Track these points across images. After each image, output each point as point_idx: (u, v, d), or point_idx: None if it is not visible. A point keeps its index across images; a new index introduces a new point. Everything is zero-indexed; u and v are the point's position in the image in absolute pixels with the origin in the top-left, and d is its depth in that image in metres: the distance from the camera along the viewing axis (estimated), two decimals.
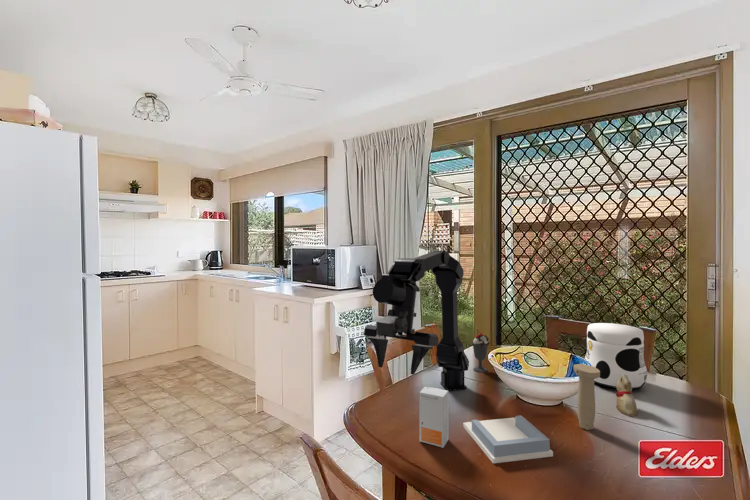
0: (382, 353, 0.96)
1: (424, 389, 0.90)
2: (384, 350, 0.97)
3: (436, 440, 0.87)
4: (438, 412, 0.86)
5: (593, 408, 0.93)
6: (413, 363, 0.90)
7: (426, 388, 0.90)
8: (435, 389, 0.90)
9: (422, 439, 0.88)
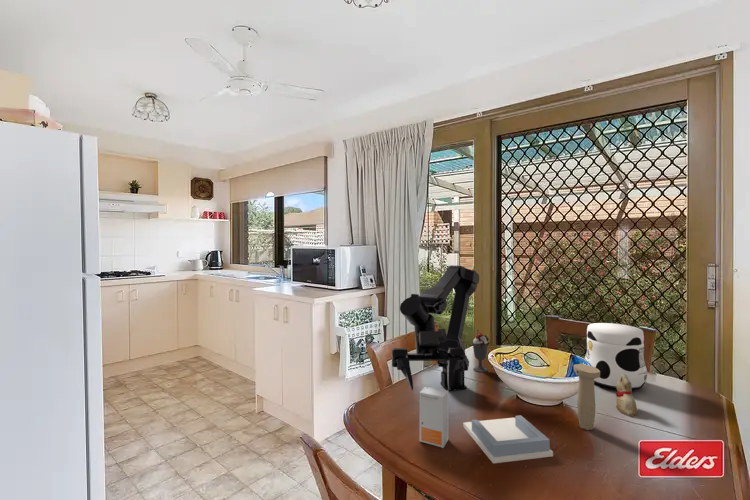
0: None
1: (424, 389, 0.90)
2: None
3: (436, 440, 0.87)
4: (438, 412, 0.86)
5: (593, 408, 0.93)
6: (450, 377, 0.94)
7: (426, 388, 0.90)
8: (435, 389, 0.90)
9: (422, 439, 0.88)
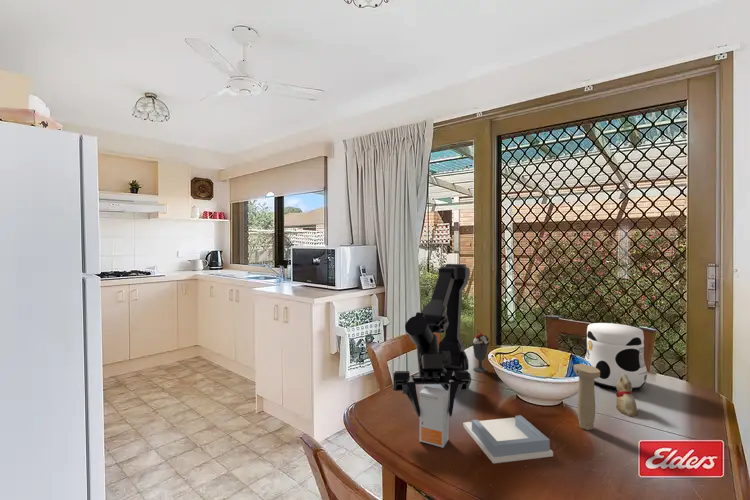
0: None
1: (424, 389, 0.90)
2: None
3: (436, 440, 0.87)
4: (438, 412, 0.86)
5: (593, 408, 0.93)
6: (451, 402, 0.89)
7: (426, 388, 0.90)
8: (435, 389, 0.90)
9: (422, 439, 0.88)
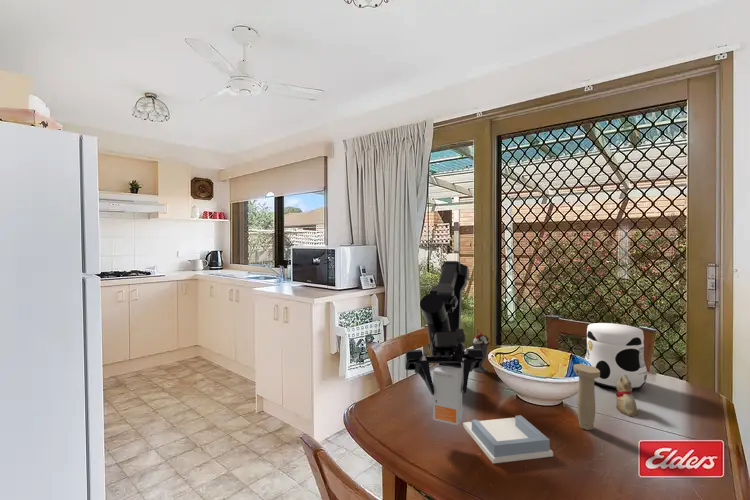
0: None
1: (437, 367, 0.89)
2: None
3: (450, 418, 0.86)
4: (452, 390, 0.85)
5: (593, 408, 0.93)
6: (465, 380, 0.88)
7: (439, 366, 0.89)
8: (448, 367, 0.89)
9: (436, 417, 0.87)
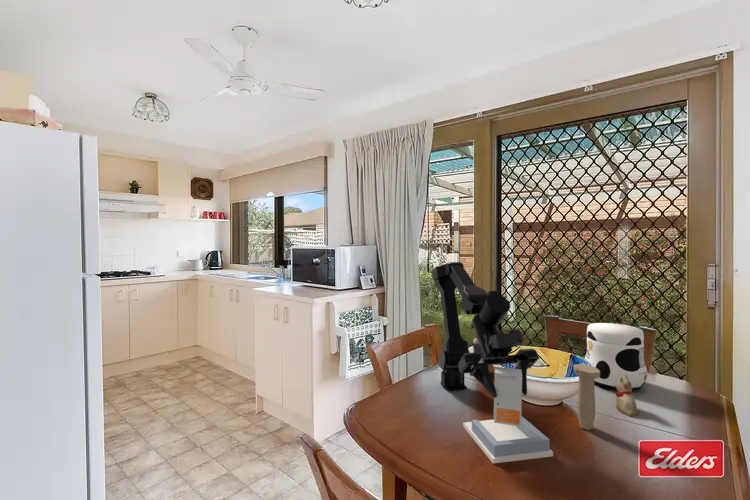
0: None
1: (497, 369, 0.88)
2: None
3: (513, 420, 0.85)
4: (516, 391, 0.85)
5: (593, 408, 0.93)
6: (524, 381, 0.88)
7: (498, 368, 0.88)
8: (506, 368, 0.88)
9: (497, 420, 0.86)
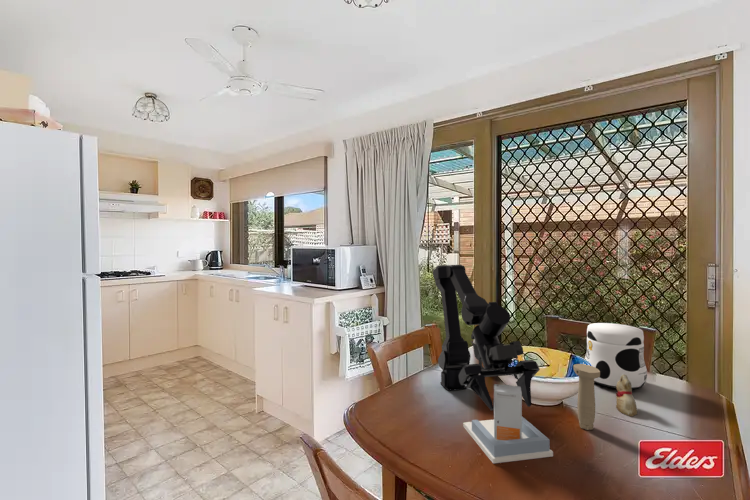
0: None
1: (496, 387, 0.88)
2: None
3: (514, 437, 0.85)
4: (516, 409, 0.85)
5: (593, 408, 0.93)
6: (529, 392, 0.88)
7: (497, 386, 0.88)
8: (506, 386, 0.88)
9: (498, 438, 0.86)
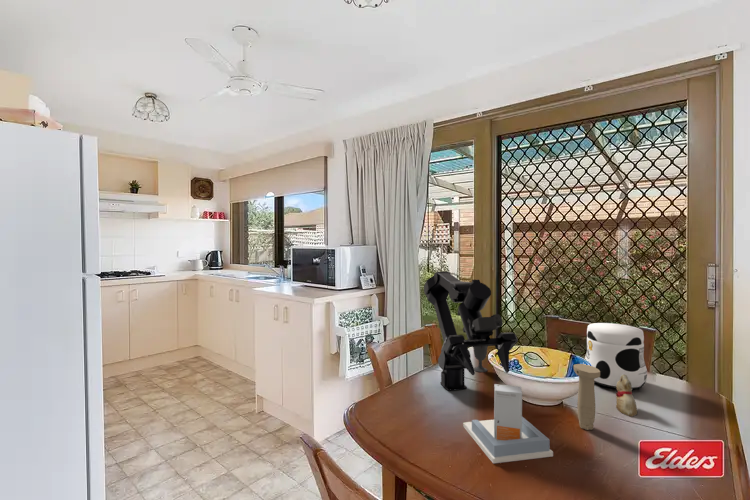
0: None
1: (497, 387, 0.88)
2: None
3: (514, 438, 0.85)
4: (516, 409, 0.85)
5: (593, 408, 0.93)
6: (507, 360, 0.97)
7: (498, 386, 0.89)
8: (506, 386, 0.89)
9: (498, 438, 0.86)
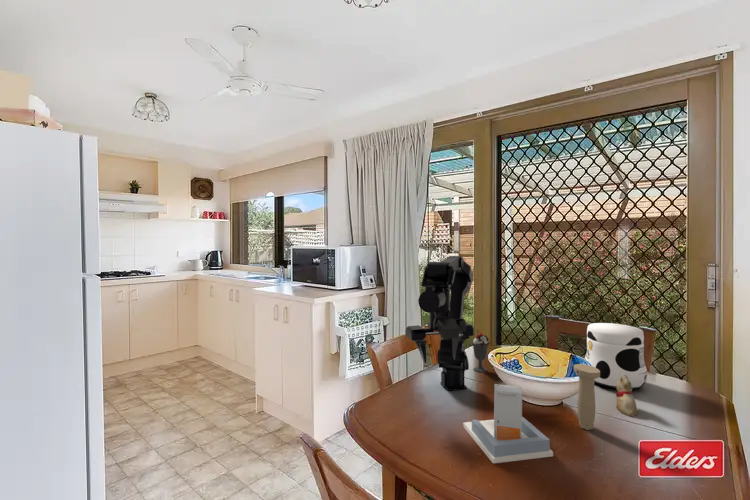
0: None
1: (497, 387, 0.88)
2: None
3: (514, 438, 0.85)
4: (516, 409, 0.85)
5: (593, 408, 0.93)
6: (458, 351, 1.07)
7: (498, 386, 0.89)
8: (506, 386, 0.89)
9: (498, 438, 0.86)
